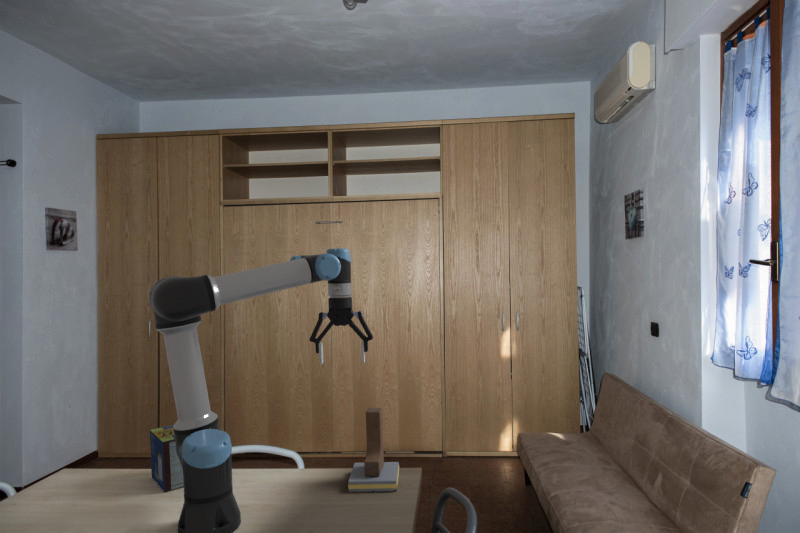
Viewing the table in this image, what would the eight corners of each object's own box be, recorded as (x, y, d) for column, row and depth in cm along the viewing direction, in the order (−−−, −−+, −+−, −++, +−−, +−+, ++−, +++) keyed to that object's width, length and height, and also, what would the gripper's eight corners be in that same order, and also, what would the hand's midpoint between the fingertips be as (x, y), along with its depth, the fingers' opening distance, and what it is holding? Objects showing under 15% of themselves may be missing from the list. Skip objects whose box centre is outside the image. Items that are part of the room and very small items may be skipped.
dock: (348, 492, 147) (348, 481, 147) (354, 472, 161) (354, 462, 161) (397, 491, 146) (396, 481, 146) (399, 471, 160) (399, 461, 160)
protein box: (184, 468, 169) (183, 422, 169) (200, 482, 157) (198, 433, 157) (150, 477, 162) (149, 429, 162) (164, 493, 150) (162, 441, 150)
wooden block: (379, 477, 149) (377, 416, 149) (364, 477, 150) (362, 416, 150) (384, 465, 158) (382, 407, 158) (370, 464, 159) (367, 407, 159)
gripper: (298, 298, 159) (301, 366, 159) (377, 296, 158) (380, 364, 158) (304, 297, 166) (306, 361, 166) (379, 294, 165) (382, 359, 165)
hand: (342, 362), depth 162 cm, fingers open, 13 cm apart
